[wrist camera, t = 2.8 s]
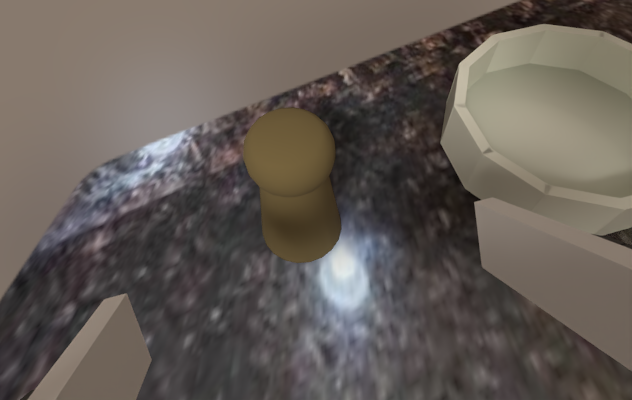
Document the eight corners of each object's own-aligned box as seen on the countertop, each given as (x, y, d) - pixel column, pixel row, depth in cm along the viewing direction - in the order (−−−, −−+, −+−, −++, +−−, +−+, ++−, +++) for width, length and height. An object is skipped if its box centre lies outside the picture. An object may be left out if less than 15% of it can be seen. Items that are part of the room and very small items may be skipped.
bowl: (583, 51, 39) (611, 8, 35) (721, 203, 30) (778, 168, 26) (411, 90, 37) (420, 50, 33) (504, 262, 28) (530, 235, 25)
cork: (257, 200, 32) (224, 101, 23) (331, 185, 32) (329, 82, 23) (268, 270, 29) (235, 190, 20) (350, 253, 29) (356, 166, 20)
